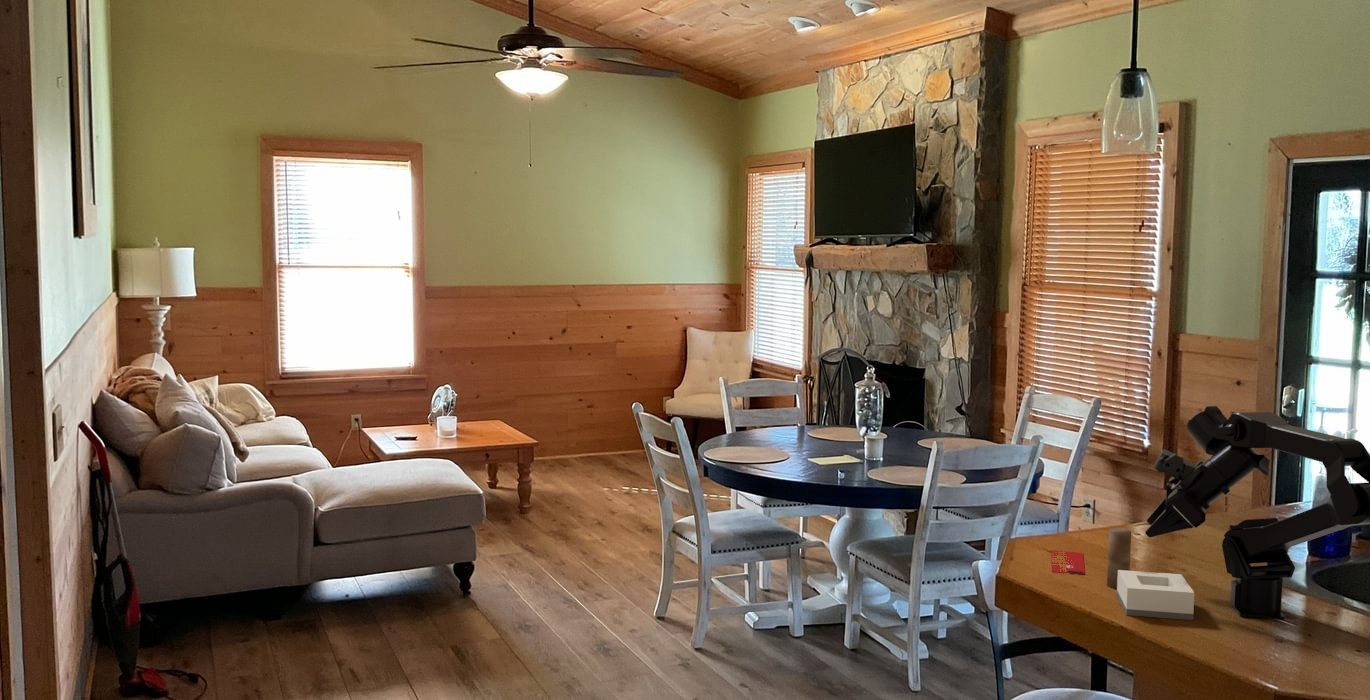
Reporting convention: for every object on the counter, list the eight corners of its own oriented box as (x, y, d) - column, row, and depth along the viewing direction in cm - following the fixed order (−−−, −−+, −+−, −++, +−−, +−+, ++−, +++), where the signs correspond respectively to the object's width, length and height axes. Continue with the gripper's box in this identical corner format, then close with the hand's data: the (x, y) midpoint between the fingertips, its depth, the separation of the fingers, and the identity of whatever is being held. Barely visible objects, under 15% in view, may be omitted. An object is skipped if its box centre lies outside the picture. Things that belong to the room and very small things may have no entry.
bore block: (1179, 600, 181) (1181, 574, 181) (1193, 620, 171) (1194, 592, 171) (1116, 595, 183) (1117, 569, 183) (1126, 615, 174) (1127, 587, 173)
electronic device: (1051, 552, 211) (1051, 574, 197) (1051, 549, 211) (1051, 571, 196) (1082, 555, 209) (1085, 577, 195) (1083, 552, 209) (1085, 574, 195)
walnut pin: (1127, 583, 190) (1129, 528, 189) (1130, 590, 186) (1132, 533, 185) (1105, 582, 191) (1107, 527, 190) (1108, 588, 187) (1110, 532, 186)
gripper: (1185, 427, 191) (1116, 483, 196) (1185, 444, 174) (1110, 504, 179) (1233, 475, 188) (1161, 530, 194) (1238, 496, 171) (1159, 556, 177)
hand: (1147, 528), depth 186 cm, fingers open, 9 cm apart
